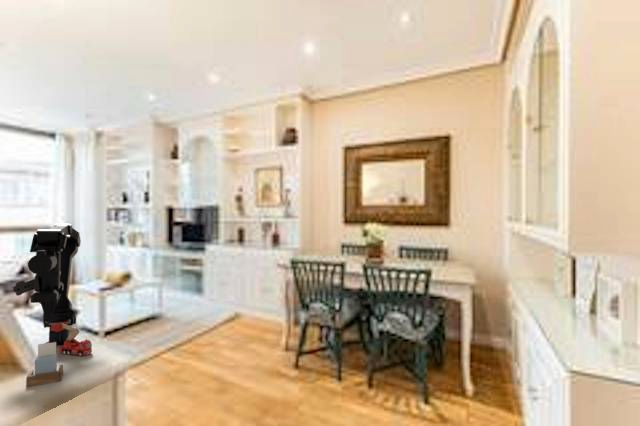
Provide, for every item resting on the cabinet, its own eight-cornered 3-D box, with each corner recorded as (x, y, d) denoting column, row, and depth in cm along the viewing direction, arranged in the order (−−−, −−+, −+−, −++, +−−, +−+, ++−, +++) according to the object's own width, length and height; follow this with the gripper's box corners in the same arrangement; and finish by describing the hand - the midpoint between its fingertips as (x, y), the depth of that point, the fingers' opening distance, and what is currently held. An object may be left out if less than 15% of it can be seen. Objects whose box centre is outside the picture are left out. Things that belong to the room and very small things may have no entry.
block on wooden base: (36, 377, 102) (37, 344, 102) (56, 374, 104) (57, 341, 104) (34, 383, 98) (35, 349, 98) (54, 380, 101) (55, 346, 101)
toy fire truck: (85, 357, 117) (85, 327, 117) (49, 353, 120) (50, 323, 120) (93, 353, 120) (94, 324, 120) (59, 349, 123) (59, 320, 123)
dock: (33, 370, 107) (34, 361, 107) (65, 365, 110) (65, 357, 110) (26, 386, 97) (26, 377, 97) (61, 380, 101) (61, 371, 101)
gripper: (22, 266, 118) (21, 314, 118) (8, 275, 102) (7, 331, 102) (64, 264, 123) (62, 310, 123) (57, 273, 107) (56, 325, 107)
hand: (47, 318), depth 114 cm, fingers closed
